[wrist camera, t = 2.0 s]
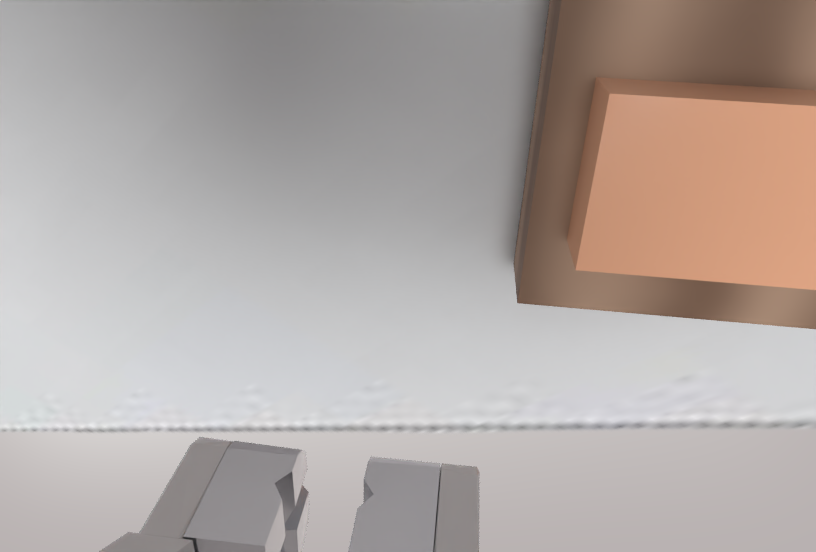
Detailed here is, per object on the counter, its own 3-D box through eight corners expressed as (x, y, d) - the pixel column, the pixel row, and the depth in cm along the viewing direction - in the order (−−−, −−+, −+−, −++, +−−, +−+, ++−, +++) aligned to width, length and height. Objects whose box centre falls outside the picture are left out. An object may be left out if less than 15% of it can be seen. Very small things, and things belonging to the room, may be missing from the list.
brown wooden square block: (513, 263, 28) (517, 303, 25) (553, -30, 22) (565, -25, 19) (786, 285, 27) (825, 330, 24) (903, -14, 21) (973, -6, 18)
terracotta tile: (566, 239, 23) (575, 270, 21) (596, 77, 20) (609, 93, 18) (784, 256, 23) (816, 290, 21) (846, 92, 20) (891, 110, 18)
